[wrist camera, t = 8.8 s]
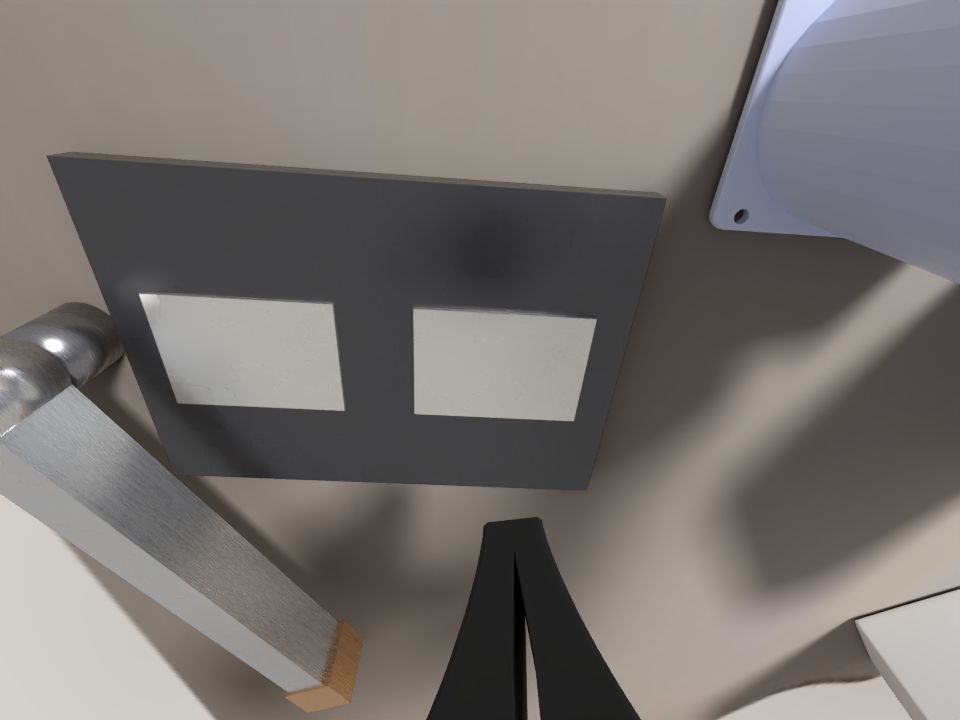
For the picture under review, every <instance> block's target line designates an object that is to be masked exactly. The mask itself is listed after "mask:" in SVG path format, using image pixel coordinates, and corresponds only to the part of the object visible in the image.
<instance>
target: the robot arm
mask: <svg viewBox="0 0 960 720" xmlns="http://www.w3.org/2000/svg"><path fill="white" fill-rule="evenodd" d="M741 209H743V210H744V212H743V216H742V217H741V218H740V219H739V220H738V221H734V216H735V214H736V213H737V212H738V211H739V210H741ZM709 220H710V223H711V224H712V225H713V226H714V227H716V228H718V229H722V230H735V231H751V232H766V233H781V234H796V235H811V236H826V237H841V238H846V239H848V240H851V241H853V242H856V243H858V244H861V245H863V246H866V247H868V248H871V249H873V250H876V251H878V252H881V253H883V254H886V255H888V256H891V257H893V258H896V259H898V260H901V261H903V262H906V263H908V264H911V265H913V266H916V267H918V268H921V269H923V270H926V271H928V272H931V273H933V274H936V275H938V276H941V277H943V278H946V279H948V280H951V281H953V282H956V283H958V284H960V0H779V1H778V4H777V7H776V11H775V14H774V17H773V20H772V23H771V26H770V29H769V32H768V35H767V38H766V41H765V44H764V47H763V50H762V53H761V56H760V60H759V63H758V66H757V69H756V72H755V75H754V78H753V81H752V84H751V87H750V90H749V93H748V96H747V99H746V102H745V105H744V109H743V112H742V115H741V118H740V121H739V124H738V127H737V130H736V133H735V136H734V139H733V142H732V145H731V148H730V151H729V154H728V158H727V161H726V164H725V167H724V170H723V173H722V176H721V179H720V182H719V185H718V188H717V191H716V194H715V197H714V200H713V203H712V206H711V210H710V213H709ZM525 616H526V622H527V627H528V633H529V638H530V643H531V649H532V654H533V659H534V665H535V670H536V678H537V688H538V698H539V708H540V718H541V720H641V719H640V717H639V716H638V714H637V713H636V711H635V710H634V708H633V706H632V705H631V703H630V702H629V700H628V699H627V697H626V695H625V694H624V692H623V691H622V689H621V687H620V686H619V684H618V682H617V681H616V679H615V677H614V676H613V674H612V673H611V671H610V669H609V667H608V666H607V664H606V662H605V661H604V659H603V657H602V655H601V654H600V652H599V650H598V648H597V646H596V645H595V643H594V641H593V639H592V637H591V636H590V634H589V632H588V630H587V628H586V626H585V624H584V622H583V621H582V619H581V617H580V615H579V613H578V611H577V609H576V607H575V605H574V603H573V601H572V598H571V596H570V594H569V592H568V590H567V588H566V586H565V584H564V582H563V579H562V577H561V575H560V573H559V570H558V568H557V565H556V563H555V560H554V558H553V556H552V553H551V550H550V547H549V545H548V542H547V539H546V535H545V532H544V528H543V524H542V520H541V519H539V518H538V517H533V518H524V519H515V520H506V521H496V522H488V523H487V524H485V525H484V528H483V538H482V545H481V551H480V556H479V561H478V566H477V570H476V574H475V579H474V583H473V586H472V590H471V594H470V597H469V601H468V605H467V608H466V612H465V615H464V619H463V622H462V625H461V628H460V631H459V634H458V637H457V640H456V643H455V646H454V649H453V652H452V655H451V658H450V661H449V663H448V666H447V669H446V672H445V674H444V677H443V680H442V682H441V685H440V687H439V690H438V692H437V695H436V697H435V700H434V702H433V705H432V707H431V710H430V712H429V715H428V717H427V719H426V720H527V674H526V629H525Z"/></svg>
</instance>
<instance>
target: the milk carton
mask: <svg viewBox="0 0 960 720" xmlns="http://www.w3.org/2000/svg"><path fill="white" fill-rule="evenodd" d="M855 624H856V626H857V628H858V631H859V633H860V635H861V638H862V640H863V642H864V645H865V647H866V649H867V652H868V654H869V656H870V659H871V661H872V662H873V664H874V665H875V667H876V668H877V670H878V671H879V673H880V674H881V675H882V677H883V678H884V680H885V681H886V682H887V684H888V685H889V687H890V688H891V690H892V691H893V692H894V694H895V695H896V697H897V698H898V700H899V701H900V703H901V704H902V705H903V707H904V708H905V710H906V711H907V712H908V714H909V716H910V717H911V718H912V720H960V589H958V590H955V591H951V592H948V593H944V594H941V595H938V596H934V597H931V598H928V599H924V600H921V601H918V602H914V603H911V604H907V605H904V606H901V607H897V608H894V609H891V610H887V611H884V612H881V613H877V614H874V615H871V616H868V617H864V618H861V619H858V620H855Z"/></svg>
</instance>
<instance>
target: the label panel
mask: <svg viewBox="0 0 960 720" xmlns="http://www.w3.org/2000/svg"><path fill="white" fill-rule="evenodd" d="M47 158H48V161H49V163H50V166H51V168H52V171H53V173H54V176H55V178H56V181H57V183H58V185H59V188H60V190H61V193H62V195H63V198H64V200H65V203H66V205H67V208H68V210H69V213H70V215H71V218H72V220H73V223H74V225H75V228H76V230H77V233H78V235H79V238H80V240H81V243H82V245H83V248H84V250H85V253H86V255H87V258H88V260H89V263H90V265H91V268H92V270H93V273H94V275H95V278H96V280H97V283H98V285H99V288H100V290H101V293H102V295H103V298H104V300H105V303H106V305H107V308H108V310H109V313H110V315H111V317H110V316H109V315H108V314H107V313H105V312H103V311H102V310H100V309H98V308H96V307H94V306H91V305H88V304H84V303H77V302H71V303H66V304H63V305H61V306H59V307H57V308H55V309H53V310H51V311H49V312H47V313H45V314H43V315H41V316H39V317H38V318H36V319H34V320H32V321H30V322H28V323H26V324H24V325H22V326H20V327H18V328H16V329H15V330H13V331H11V332H9V333H7V334H5V335H3V336H1V337H0V339H4V338H10V339H18V340H22V341H25V342H28V343H31V344H33V345H36V346H38V347H40V348H42V349H43V350H45V351H47V352H48V353H49V354H51V355H52V356H53V357H54V358H56V359H57V360H58V361H59V362H60V363H61V364H62V365H63V367H64V368H65V369H66V371H67V372H68V374H69V376H70V379H71V383H72V385H73V386H74V387H76V388H77V389H78V390H79V389H80V388H81V387H82V386H84V385H85V384H86V383H88V382H89V381H90V380H92V379H93V378H94V377H96V376H97V375H98V374H100V373H101V372H102V371H104V370H105V369H106V368H108V367H109V366H110V365H112V364H113V363H114V362H115V361H117V360H118V359H119V358H121V357H122V356H123V355H124V353H125V352H126V355H127V357H128V360H129V362H130V365H131V367H132V370H133V372H134V375H135V377H136V380H137V382H138V385H139V387H140V390H141V392H142V395H143V397H144V400H145V402H146V405H147V407H148V410H149V412H150V415H151V417H152V420H153V422H154V425H155V427H156V430H157V432H158V435H159V437H160V440H161V442H162V445H163V447H164V450H165V452H166V455H167V457H168V459H169V462H170V464H171V467H172V469H173V472H174V474H175V475H194V476H220V477H247V478H273V479H299V480H325V481H351V482H377V483H403V484H429V485H455V486H481V487H507V488H533V489H559V490H585V491H587V488H588V484H589V481H590V477H591V473H592V470H593V466H594V462H595V459H596V455H597V451H598V448H599V444H600V440H601V437H602V433H603V430H604V426H605V422H606V419H607V415H608V411H609V408H610V404H611V400H612V397H613V393H614V389H615V386H616V382H617V378H618V375H619V371H620V367H621V364H622V360H623V356H624V353H625V349H626V345H627V342H628V338H629V334H630V331H631V327H632V323H633V320H634V316H635V313H636V309H637V305H638V302H639V298H640V294H641V291H642V287H643V283H644V280H645V276H646V272H647V269H648V265H649V261H650V258H651V254H652V250H653V247H654V243H655V239H656V236H657V232H658V228H659V225H660V221H661V217H662V214H663V210H664V206H665V203H666V199H667V198H665V197H663V196H661V195H660V194H658V193H654V192H640V191H625V190H611V189H597V188H582V187H568V186H554V185H539V184H525V183H510V182H496V181H482V180H467V179H453V178H439V177H424V176H410V175H395V174H381V173H367V172H352V171H338V170H324V169H309V168H295V167H280V166H266V165H252V164H237V163H223V162H209V161H194V160H180V159H166V158H151V157H137V156H122V155H108V154H94V153H79V152H67V153H61V154H54V155H48V156H47Z"/></svg>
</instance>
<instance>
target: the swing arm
mask: <svg viewBox="0 0 960 720" xmlns="http://www.w3.org/2000/svg"><path fill="white" fill-rule="evenodd" d="M0 494H2V495H3V496H5V497H6V498H8V499H9V500H10V501H12V502H13V503H15V504H16V505H18V506H19V507H20V508H22V509H23V510H25V511H26V512H28V513H29V514H31V515H32V516H33V517H35V518H36V519H38V520H39V521H41V522H42V523H44V524H45V525H47V526H48V527H49V528H51V529H52V530H54V531H55V532H57V533H58V534H60V535H61V536H62V537H64V538H65V539H67V540H68V541H70V542H71V543H73V544H74V545H76V546H77V547H78V548H80V549H81V550H83V551H84V552H86V553H87V554H89V555H90V556H91V557H93V558H94V559H96V560H97V561H99V562H100V563H102V564H103V565H104V566H106V567H107V568H109V569H110V570H112V571H113V572H115V573H116V574H118V575H119V576H120V577H122V578H123V579H125V580H126V581H128V582H129V583H131V584H132V585H133V586H135V587H136V588H138V589H139V590H141V591H142V592H144V593H145V594H147V595H148V596H149V597H151V598H152V599H154V600H155V601H157V602H158V603H160V604H161V605H162V606H164V607H165V608H167V609H168V610H170V611H171V612H173V613H174V614H175V615H177V616H178V617H180V618H181V619H183V620H184V621H186V622H187V623H189V624H190V625H191V626H193V627H194V628H196V629H197V630H199V631H200V632H202V633H203V634H204V635H206V636H207V637H209V638H210V639H212V640H213V641H215V642H216V643H218V644H219V645H220V646H222V647H223V648H225V649H226V650H228V651H229V652H231V653H232V654H233V655H235V656H236V657H238V658H239V659H241V660H242V661H244V662H245V663H247V664H248V665H249V666H251V667H252V668H254V669H255V670H257V671H258V672H260V673H261V674H262V675H264V676H265V677H267V678H268V679H270V680H271V681H273V682H274V683H275V684H277V685H278V686H280V687H281V688H283V689H284V690H286V694H285V698H287V699H288V700H289V701H291V702H292V703H294V704H295V705H297V706H298V707H300V708H301V709H303V710H304V711H306V712H307V713H310V712H314V711H319V710H323V709H328V708H332V707H336V706H341V705H345V704H350V703H351V698H352V693H353V688H354V683H355V678H356V673H357V668H358V663H359V658H360V653H361V648H362V643H363V638H364V637H363V636H361V635H360V634H359V633H358V632H357V631H356V630H355V629H354V628H353V627H351V626H350V625H349V624H348V623H347V622H346V621H345V620H343V621H340V622H337V621H336V620H335V619H334V618H333V617H332V616H331V615H330V614H328V613H327V612H326V611H325V610H324V609H323V608H322V607H321V606H320V605H318V604H317V603H316V602H315V601H314V600H313V599H312V598H311V597H309V596H308V595H307V594H306V593H305V592H304V591H303V590H302V589H301V588H299V587H298V586H297V585H296V584H295V583H294V582H293V581H292V580H290V579H289V578H288V577H287V576H286V575H285V574H284V573H283V572H281V571H280V570H279V569H278V568H277V567H276V566H275V565H274V564H273V563H271V562H270V561H269V560H268V559H267V558H266V557H265V556H264V555H262V554H261V553H260V552H259V551H258V550H257V549H256V548H255V547H253V546H252V545H251V544H250V543H249V542H248V541H247V540H246V539H245V538H243V537H242V536H241V535H240V534H239V533H238V532H237V531H236V530H234V529H233V528H232V527H231V526H230V525H229V524H228V523H227V522H226V521H224V520H223V519H222V518H221V517H220V516H219V515H218V514H217V513H215V512H214V511H213V510H212V509H211V508H210V507H209V506H208V505H206V504H205V503H204V502H203V501H202V500H201V499H200V498H199V497H198V496H196V495H195V494H194V493H193V492H192V491H191V490H190V489H189V488H187V487H186V486H185V485H184V484H183V483H182V482H181V481H180V480H178V479H177V478H176V477H175V476H174V475H173V474H172V473H171V472H170V471H168V470H167V469H166V468H165V467H164V466H163V465H162V464H161V463H159V462H158V461H157V460H156V459H155V458H154V457H153V456H152V455H151V454H149V453H148V452H147V451H146V450H145V449H144V448H143V447H142V446H140V445H139V444H138V443H137V442H136V441H135V440H134V439H133V438H131V437H130V436H129V435H128V434H127V433H126V432H125V431H124V430H123V429H121V428H120V427H119V426H118V425H117V424H116V423H115V422H114V421H112V420H111V419H110V418H109V417H108V416H107V415H106V414H105V413H104V412H102V411H101V410H100V409H99V408H98V407H97V406H96V405H95V404H93V403H92V402H91V401H90V400H89V399H88V398H87V397H86V396H84V395H83V394H82V393H81V392H80V391H79V390H78V389H77V388H76V387H74V386H73V385H72V383H71V379H70V376H69V374H68V372H67V371H66V369H65V368H64V367H63V365H62V364H61V363H60V362H59V361H58V360H57V359H56V358H54V357H53V356H52V355H51V354H49V353H48V352H47V351H45V350H43V349H42V348H40V347H38V346H36V345H33V344H31V343H28V342H25V341H22V340H18V339H10V338H4V339H0Z"/></svg>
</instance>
